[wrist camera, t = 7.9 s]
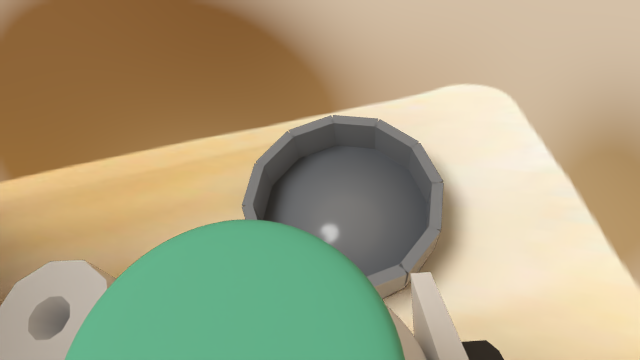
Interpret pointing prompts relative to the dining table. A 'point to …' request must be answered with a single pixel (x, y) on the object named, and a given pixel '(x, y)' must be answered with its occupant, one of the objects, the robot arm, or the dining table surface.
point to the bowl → (353, 194)
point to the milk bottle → (243, 302)
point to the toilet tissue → (49, 309)
